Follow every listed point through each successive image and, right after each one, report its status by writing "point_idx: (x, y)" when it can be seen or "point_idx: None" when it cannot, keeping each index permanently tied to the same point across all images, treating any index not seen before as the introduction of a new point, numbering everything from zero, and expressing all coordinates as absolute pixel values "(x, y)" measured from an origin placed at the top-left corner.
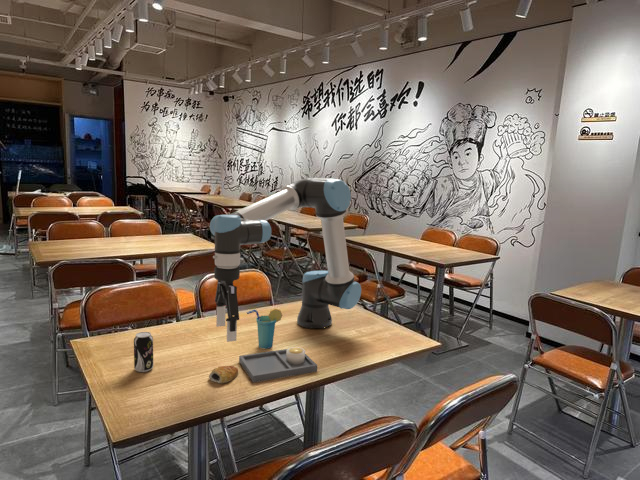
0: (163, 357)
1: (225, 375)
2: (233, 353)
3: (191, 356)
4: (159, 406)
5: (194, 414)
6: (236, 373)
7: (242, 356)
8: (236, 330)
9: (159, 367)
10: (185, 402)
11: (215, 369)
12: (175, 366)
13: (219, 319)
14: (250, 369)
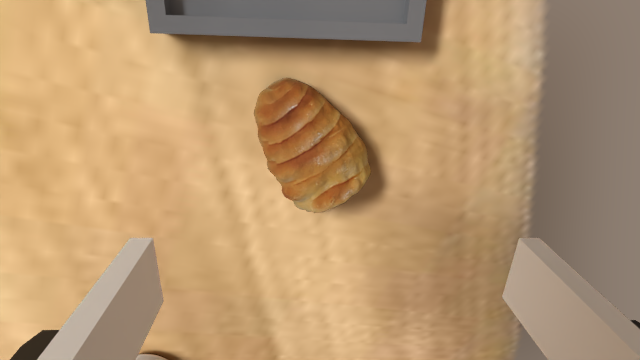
0: (51, 315)
1: (359, 163)
2: (36, 26)
3: (53, 225)
4: (413, 347)
5: None
6: (321, 97)
7: (163, 16)
8: (604, 299)
9: None
10: (428, 291)
11: (305, 196)
12: None
13: (133, 333)
14: (345, 30)
